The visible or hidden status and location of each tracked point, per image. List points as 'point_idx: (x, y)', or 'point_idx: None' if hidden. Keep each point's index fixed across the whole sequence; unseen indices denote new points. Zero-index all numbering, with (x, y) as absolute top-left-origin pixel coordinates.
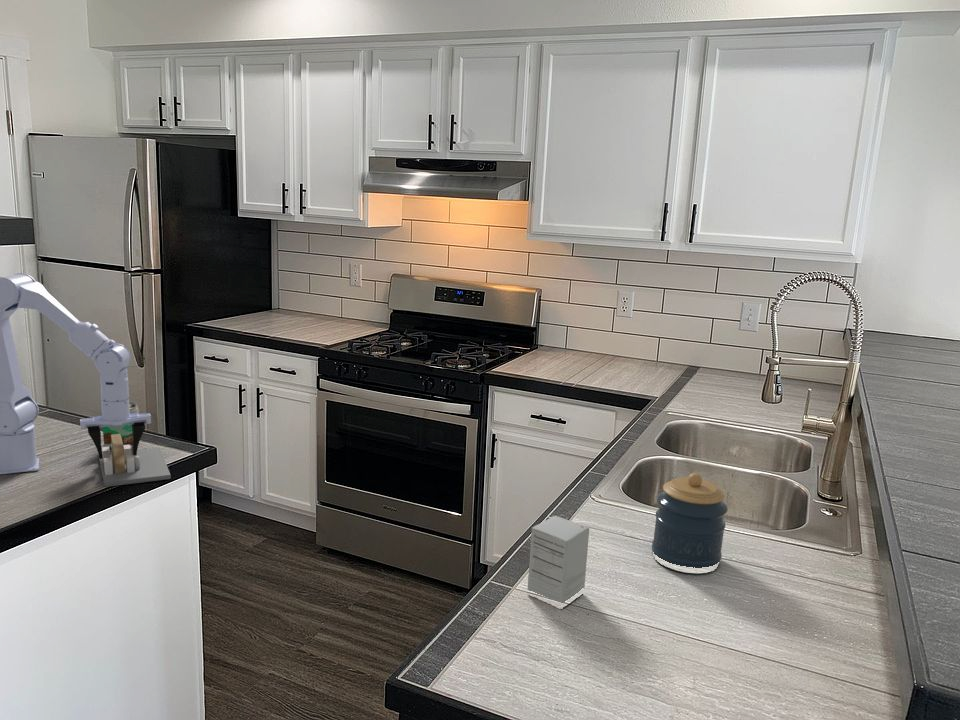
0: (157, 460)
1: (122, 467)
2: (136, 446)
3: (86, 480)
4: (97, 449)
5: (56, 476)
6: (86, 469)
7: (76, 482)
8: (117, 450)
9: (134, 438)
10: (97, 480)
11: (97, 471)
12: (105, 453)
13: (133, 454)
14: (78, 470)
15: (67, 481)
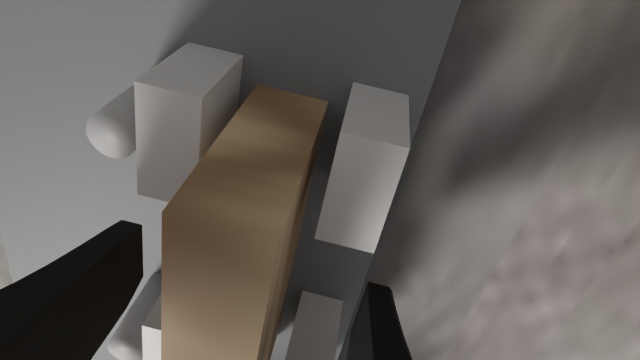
0: (27, 178)
1: (263, 105)
2: (66, 259)
3: (525, 142)
4: (409, 355)
5: (630, 302)
6: (435, 306)
7: (601, 143)
8: (251, 206)
9: (16, 326)
10: (462, 99)
11: (395, 249)
12: (316, 353)
13: (137, 228)
14: (478, 315)
15: (635, 194)
